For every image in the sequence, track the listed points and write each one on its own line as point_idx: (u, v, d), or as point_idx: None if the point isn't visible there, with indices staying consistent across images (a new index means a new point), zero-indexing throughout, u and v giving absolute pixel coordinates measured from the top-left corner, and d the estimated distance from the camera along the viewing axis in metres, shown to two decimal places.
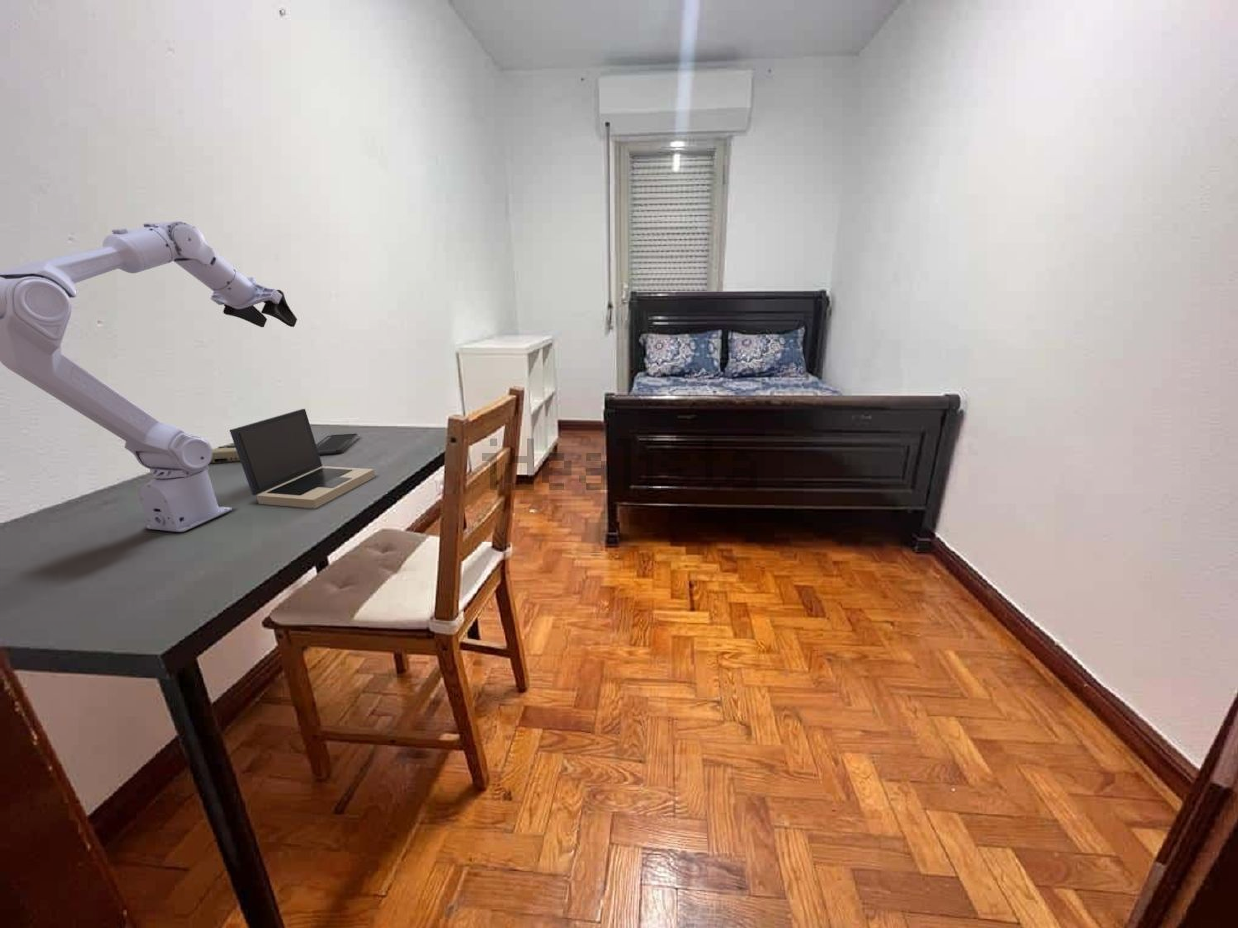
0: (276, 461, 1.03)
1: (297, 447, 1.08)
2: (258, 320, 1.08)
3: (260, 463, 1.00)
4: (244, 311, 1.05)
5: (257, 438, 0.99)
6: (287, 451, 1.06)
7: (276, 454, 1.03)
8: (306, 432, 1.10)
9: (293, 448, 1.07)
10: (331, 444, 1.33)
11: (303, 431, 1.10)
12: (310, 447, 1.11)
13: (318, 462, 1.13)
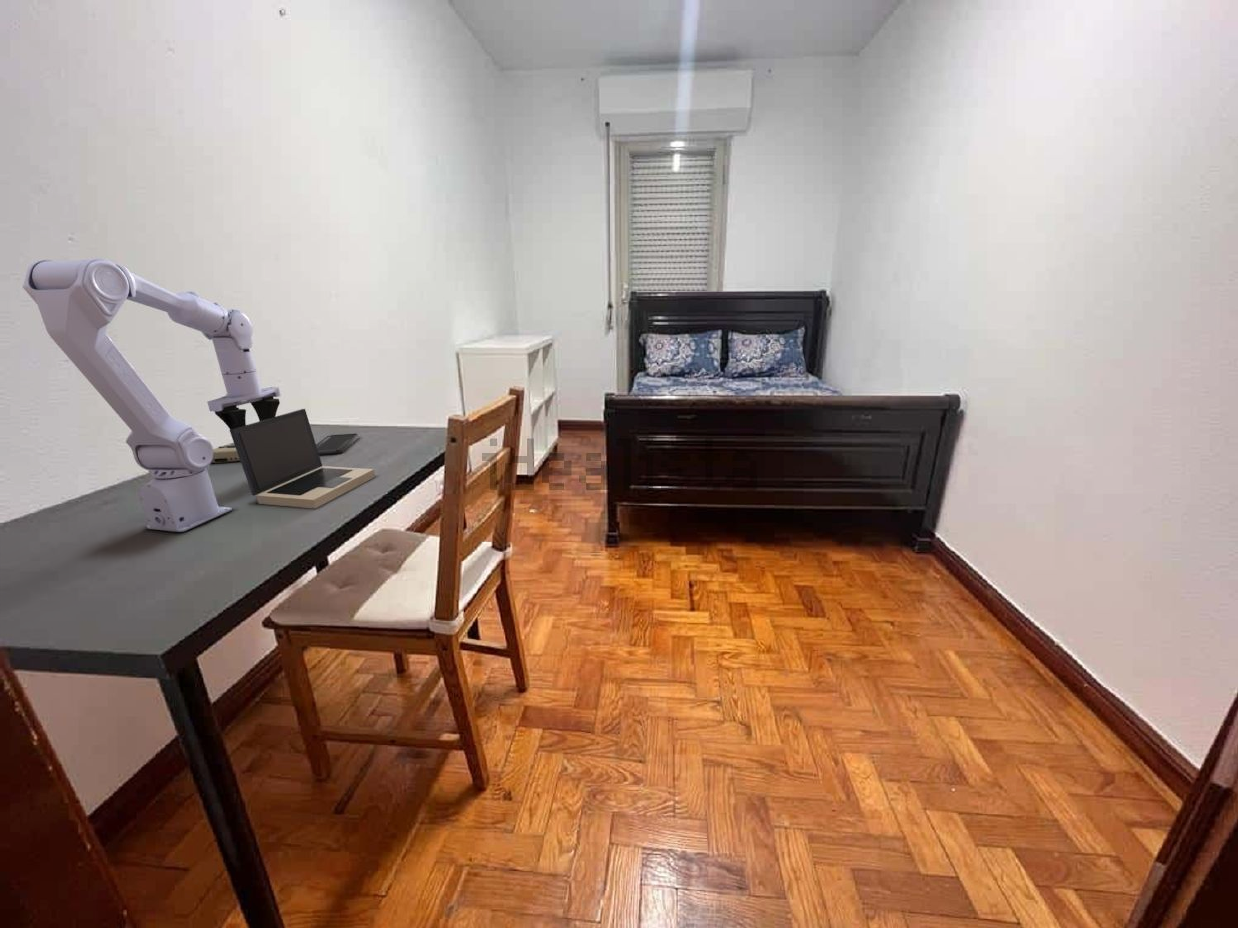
0: (276, 461, 1.03)
1: (297, 447, 1.08)
2: None
3: (260, 463, 1.00)
4: None
5: (257, 438, 0.99)
6: (287, 451, 1.06)
7: (276, 454, 1.03)
8: (306, 432, 1.10)
9: (293, 448, 1.07)
10: (331, 444, 1.33)
11: (303, 431, 1.10)
12: (310, 447, 1.11)
13: (318, 462, 1.13)
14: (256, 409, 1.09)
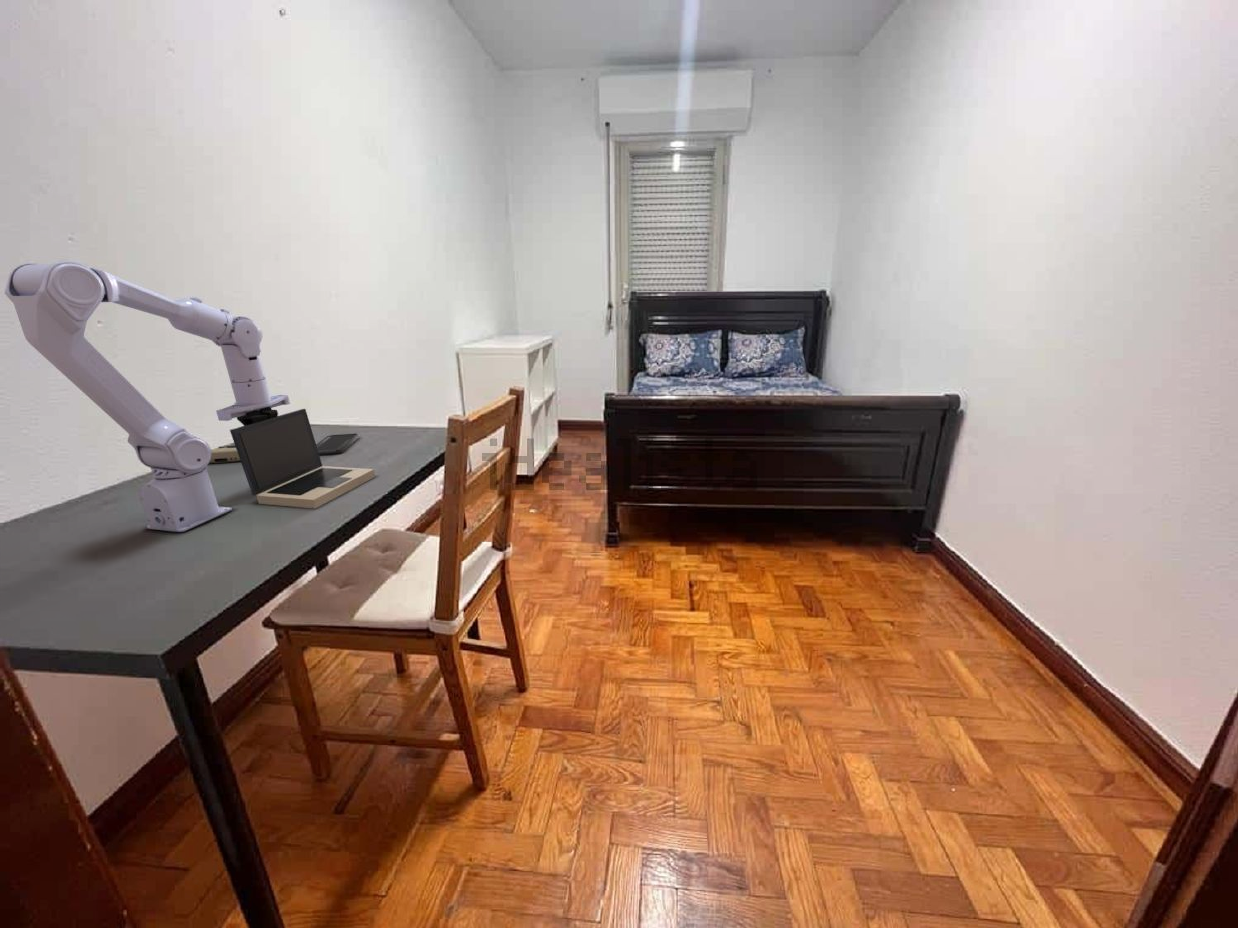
0: (276, 461, 1.03)
1: (297, 447, 1.08)
2: None
3: (260, 463, 1.00)
4: None
5: (257, 438, 0.99)
6: (288, 451, 1.06)
7: (276, 454, 1.03)
8: (306, 432, 1.10)
9: (293, 448, 1.07)
10: (331, 444, 1.33)
11: (303, 431, 1.10)
12: (310, 447, 1.11)
13: (318, 462, 1.13)
14: None
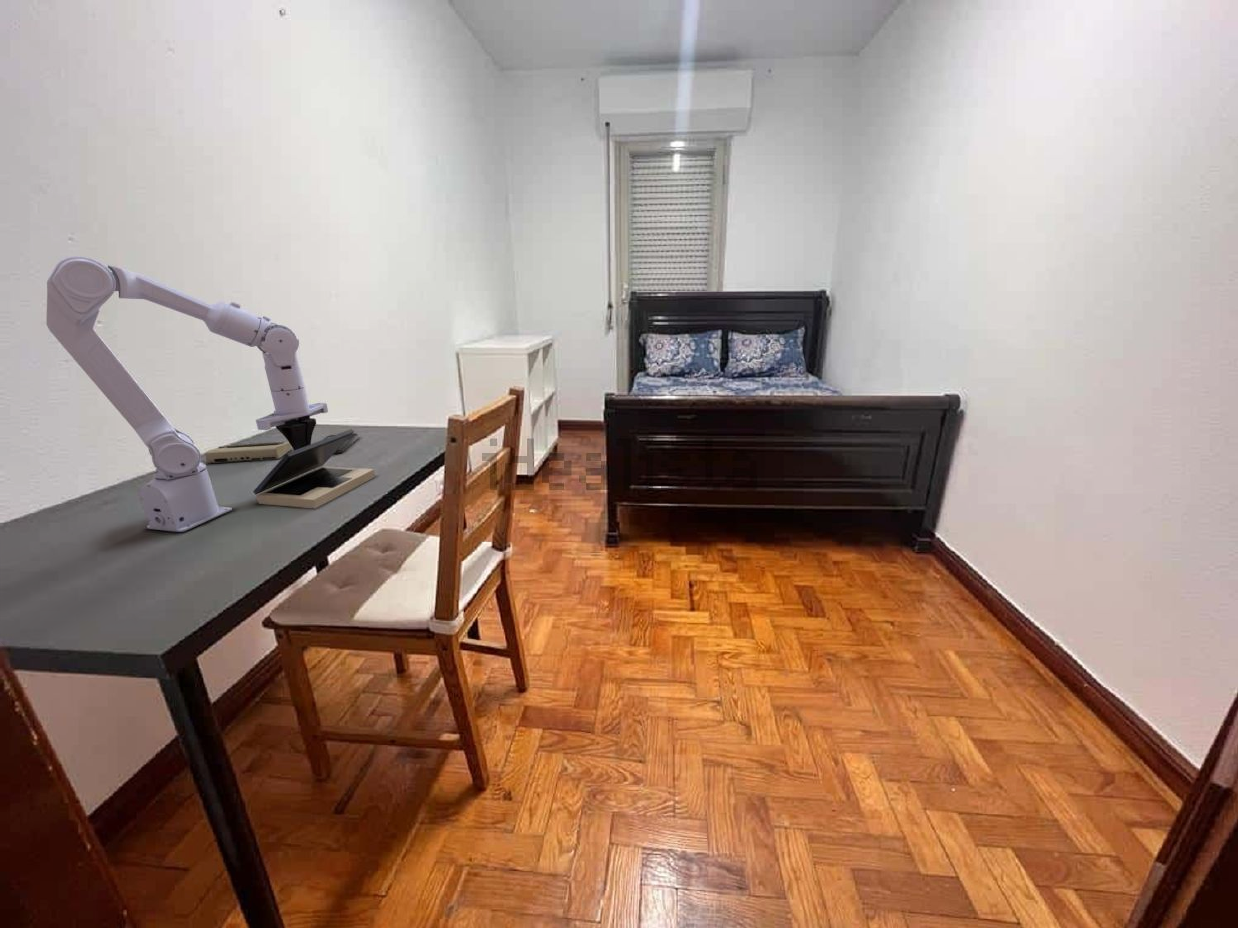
0: (295, 470, 1.03)
1: (319, 458, 1.08)
2: None
3: (282, 474, 0.99)
4: None
5: (299, 458, 0.99)
6: (310, 461, 1.05)
7: (300, 466, 1.03)
8: (337, 447, 1.10)
9: (316, 459, 1.07)
10: None
11: (335, 446, 1.09)
12: (328, 455, 1.11)
13: (322, 464, 1.13)
14: None
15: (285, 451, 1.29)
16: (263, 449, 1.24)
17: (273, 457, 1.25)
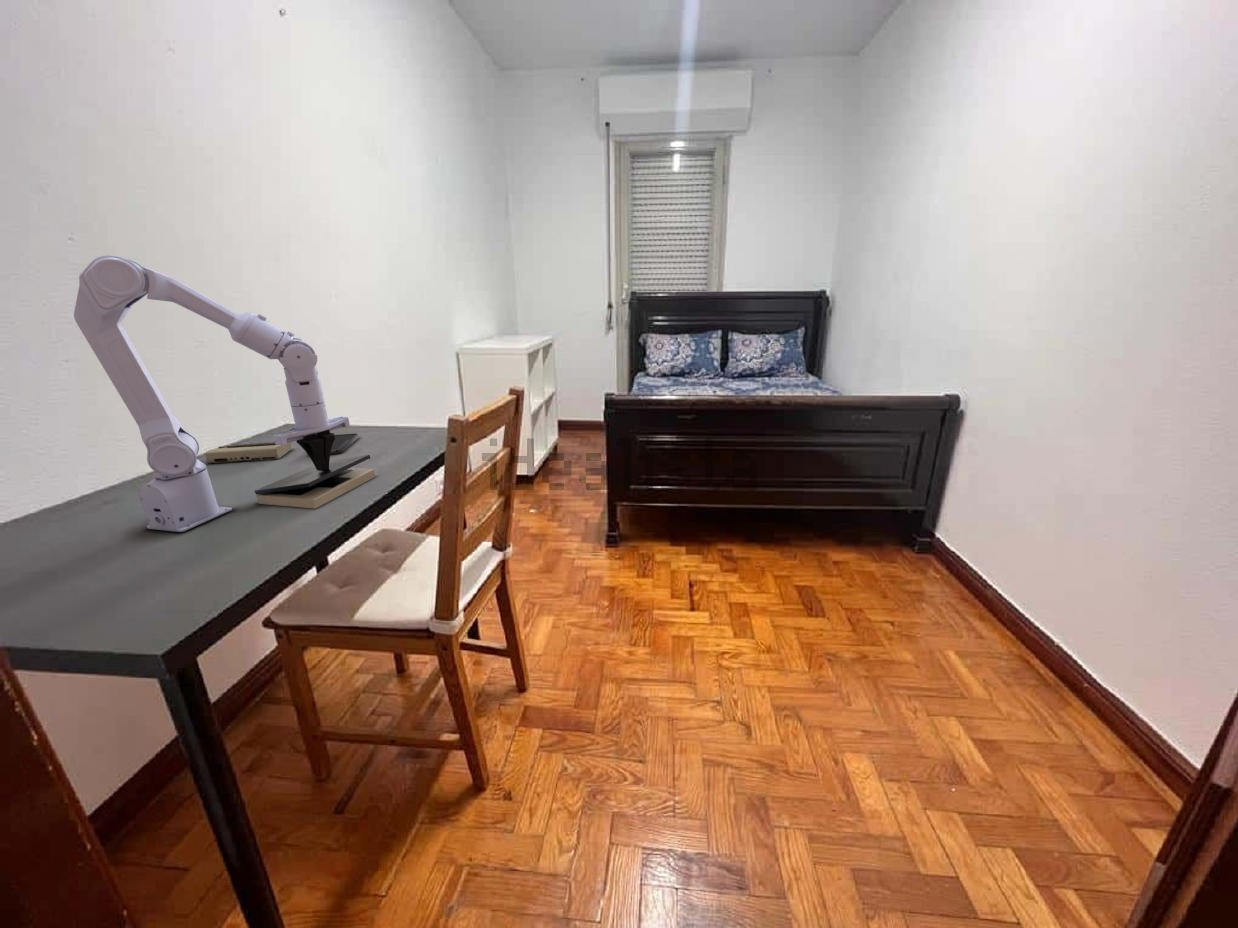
0: None
1: None
2: None
3: None
4: None
5: None
6: None
7: None
8: None
9: None
10: None
11: None
12: None
13: None
14: None
15: (285, 451, 1.29)
16: (263, 449, 1.24)
17: (273, 457, 1.25)
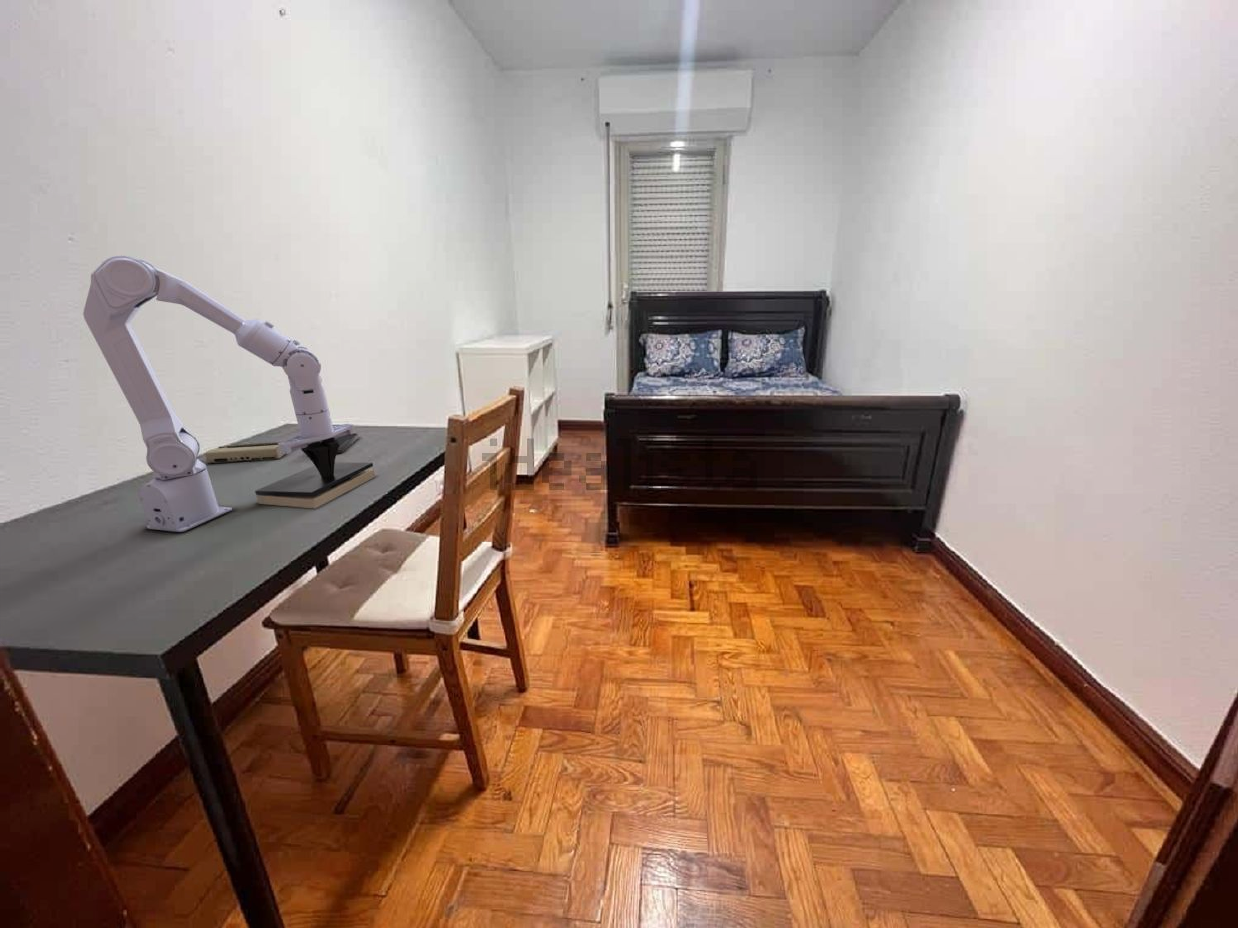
0: None
1: None
2: None
3: None
4: None
5: None
6: None
7: None
8: None
9: None
10: None
11: None
12: None
13: None
14: None
15: None
16: (263, 449, 1.24)
17: (273, 457, 1.25)
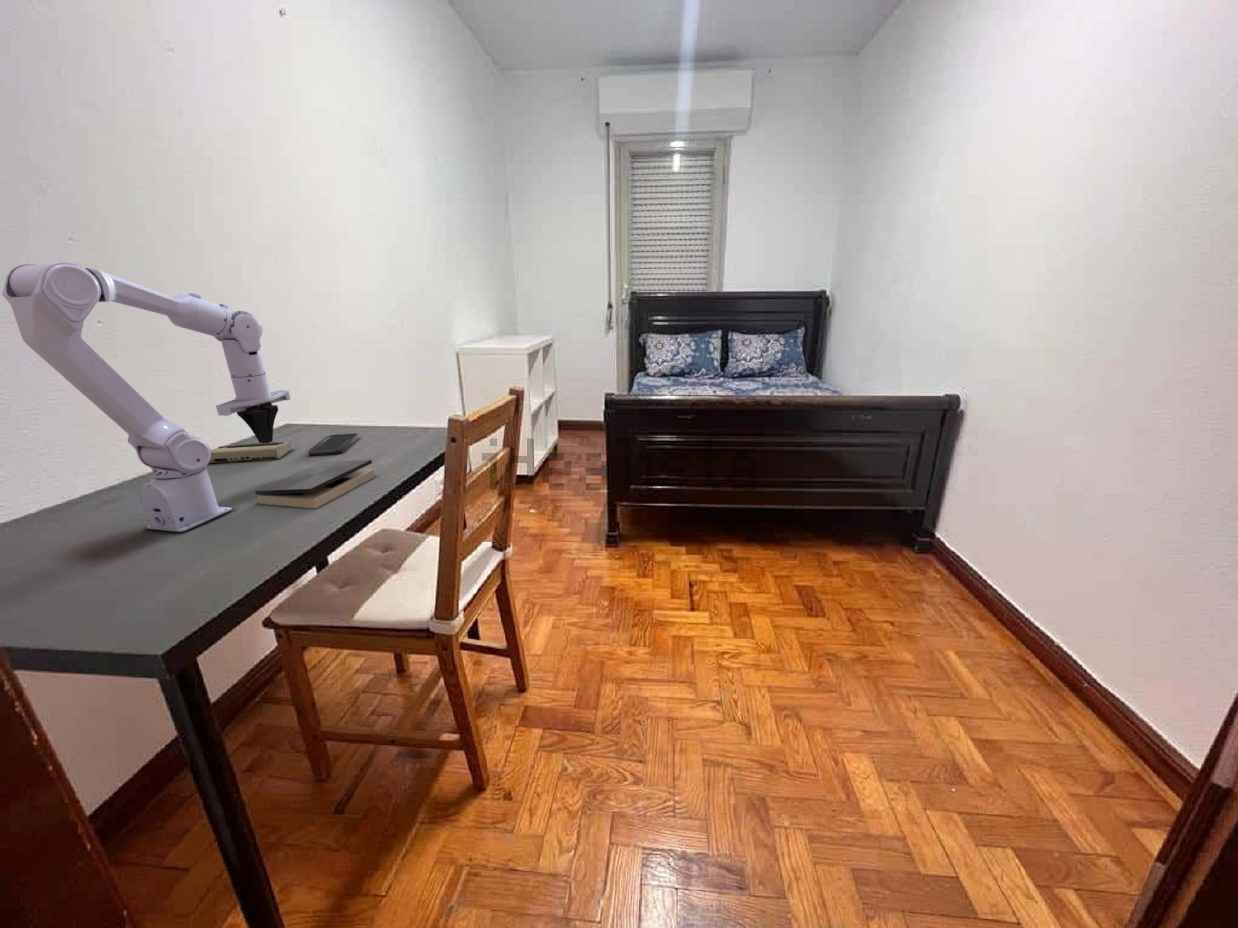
0: None
1: None
2: None
3: None
4: None
5: None
6: None
7: None
8: None
9: None
10: (331, 444, 1.33)
11: None
12: None
13: None
14: None
15: (285, 451, 1.29)
16: (263, 449, 1.24)
17: (273, 457, 1.25)
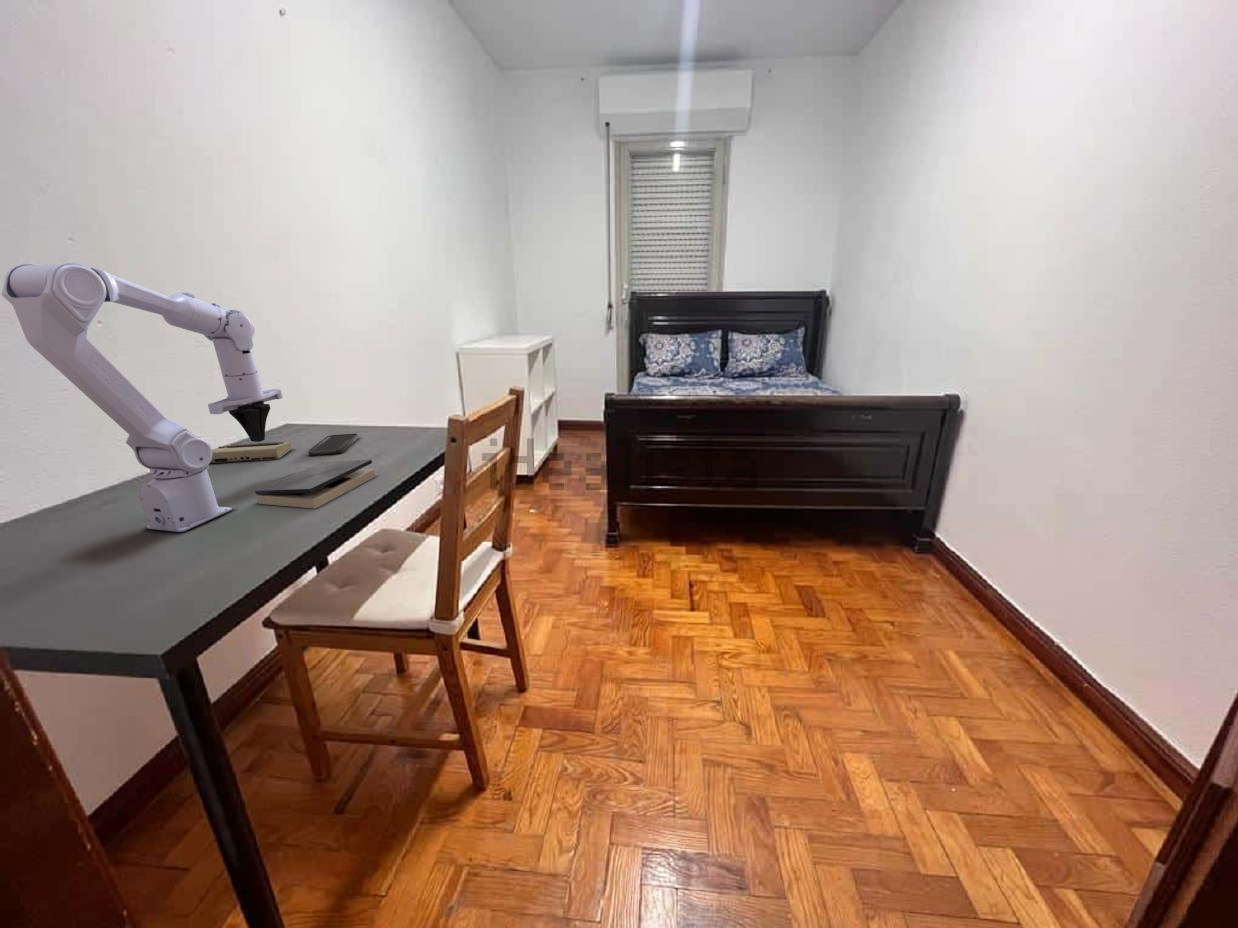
0: None
1: None
2: None
3: None
4: None
5: None
6: None
7: None
8: None
9: None
10: (331, 444, 1.33)
11: None
12: None
13: None
14: None
15: (285, 451, 1.29)
16: (263, 449, 1.24)
17: (273, 457, 1.25)
